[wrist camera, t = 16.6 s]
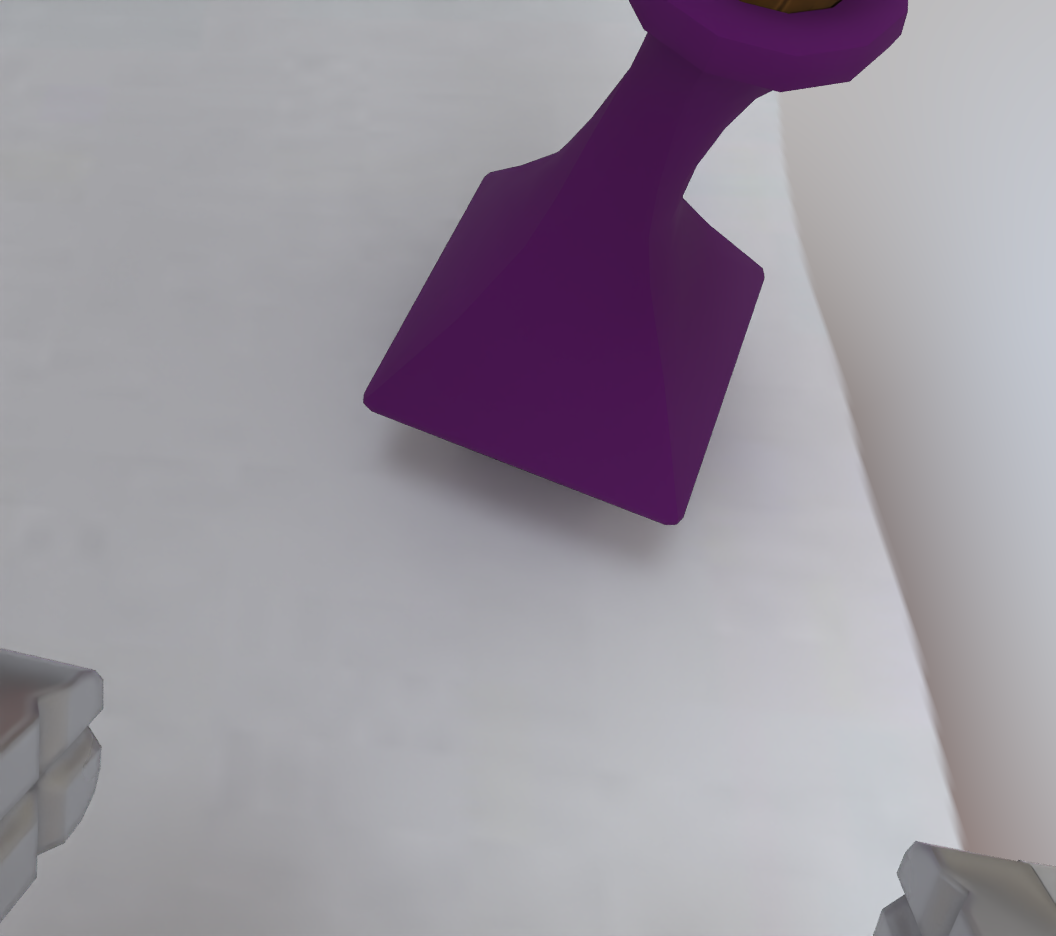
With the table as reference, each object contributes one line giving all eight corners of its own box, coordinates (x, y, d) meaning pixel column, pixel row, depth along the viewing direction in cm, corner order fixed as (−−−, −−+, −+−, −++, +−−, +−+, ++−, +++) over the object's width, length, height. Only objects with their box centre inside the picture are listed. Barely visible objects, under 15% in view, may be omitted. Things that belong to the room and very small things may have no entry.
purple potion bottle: (730, 343, 25) (1219, -639, 9) (649, 578, 22) (1183, -305, 6) (483, 253, 26) (540, -805, 10) (369, 468, 23) (181, -585, 7)
